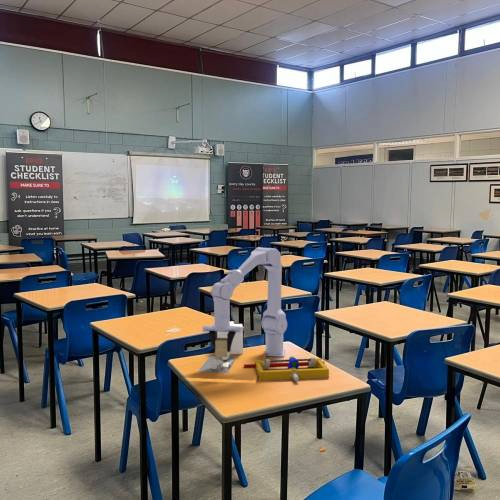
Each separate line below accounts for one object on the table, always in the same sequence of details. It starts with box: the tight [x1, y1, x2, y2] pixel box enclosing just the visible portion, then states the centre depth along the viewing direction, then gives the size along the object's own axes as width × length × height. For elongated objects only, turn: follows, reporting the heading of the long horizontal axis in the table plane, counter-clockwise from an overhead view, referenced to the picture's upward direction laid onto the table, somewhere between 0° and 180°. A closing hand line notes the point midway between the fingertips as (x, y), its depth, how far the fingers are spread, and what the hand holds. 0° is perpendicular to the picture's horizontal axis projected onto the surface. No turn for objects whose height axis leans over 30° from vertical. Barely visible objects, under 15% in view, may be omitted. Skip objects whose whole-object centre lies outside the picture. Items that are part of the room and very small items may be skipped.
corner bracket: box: [217, 321, 244, 355], centre depth 211 cm, size 11×11×12 cm
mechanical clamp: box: [243, 355, 330, 382], centre depth 182 cm, size 18×6×30 cm
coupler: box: [214, 338, 229, 357], centre depth 190 cm, size 4×4×6 cm
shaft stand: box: [197, 352, 237, 374], centre depth 192 cm, size 19×11×4 cm, turn 172°
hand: (222, 350), depth 191 cm, fingers closed on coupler, 4 cm apart
